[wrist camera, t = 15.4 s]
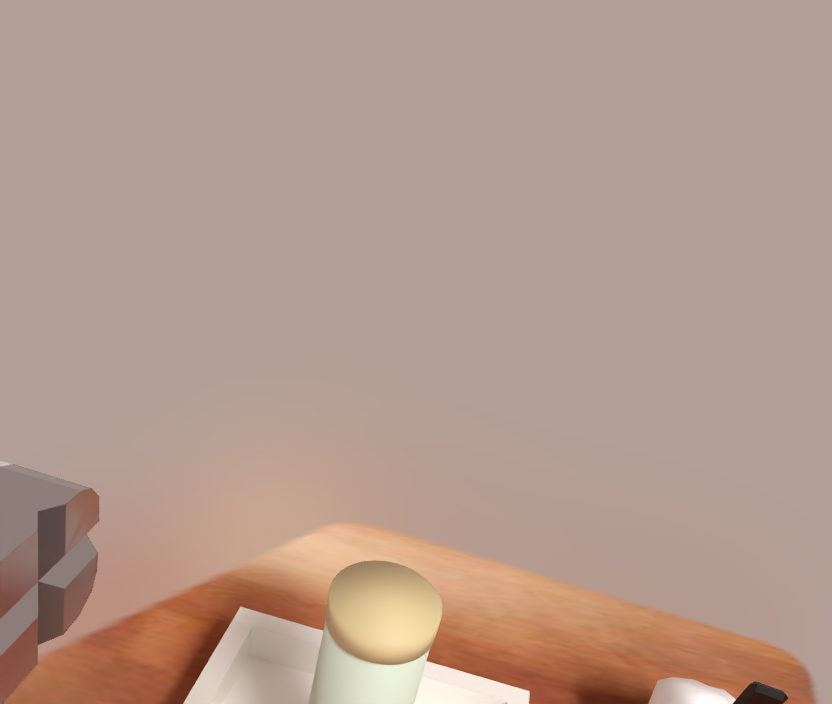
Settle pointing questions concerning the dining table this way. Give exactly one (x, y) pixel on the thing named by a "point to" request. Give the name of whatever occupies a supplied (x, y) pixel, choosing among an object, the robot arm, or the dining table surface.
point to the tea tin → (375, 635)
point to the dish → (311, 669)
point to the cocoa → (711, 693)
